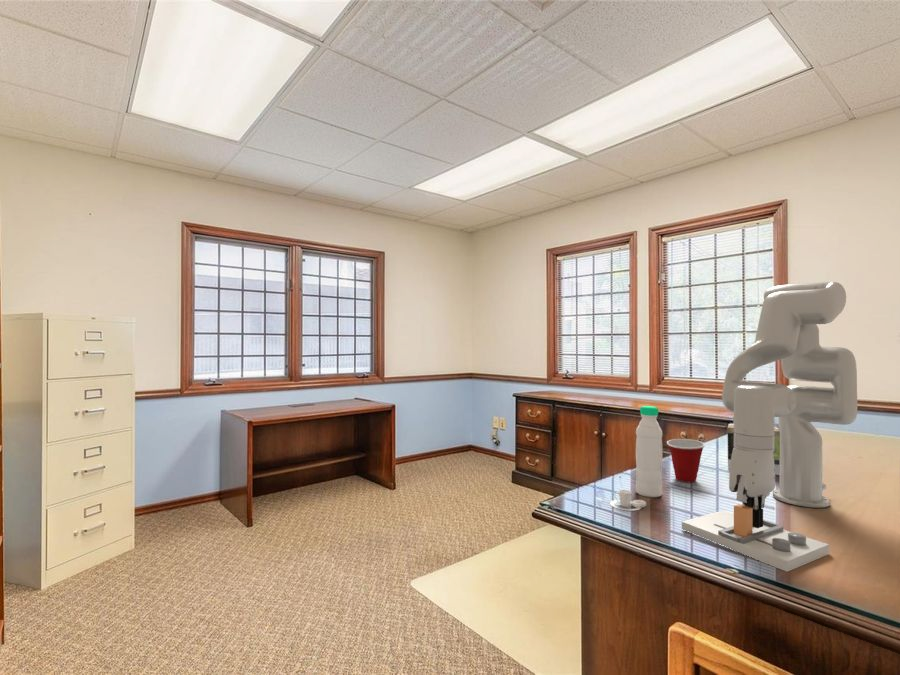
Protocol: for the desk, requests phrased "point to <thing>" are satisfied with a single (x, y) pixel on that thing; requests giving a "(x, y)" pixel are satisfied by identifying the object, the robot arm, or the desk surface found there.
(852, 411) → the robot arm
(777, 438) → the tea box
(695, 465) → the plastic cup
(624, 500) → the white ring with post
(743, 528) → the block
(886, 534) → the desk surface
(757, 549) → the console
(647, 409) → the water bottle
